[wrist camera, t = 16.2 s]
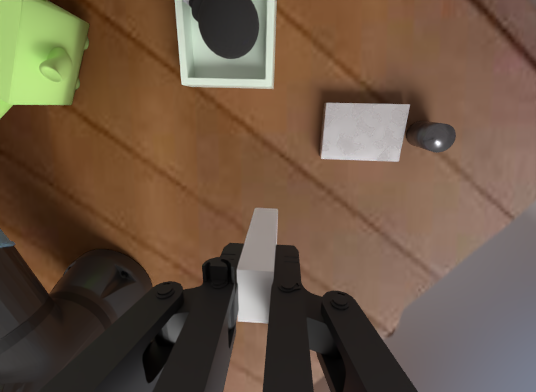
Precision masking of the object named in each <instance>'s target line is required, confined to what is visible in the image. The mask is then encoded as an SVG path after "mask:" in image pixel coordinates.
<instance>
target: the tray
mask: <svg viewBox="0 0 536 392" xmlns="http://www.w3.org/2000/svg"><path fill="white" fill-rule="evenodd" d="M251 1H252V2H253V4H254V6H255V8H256V10H257V13H258V18H259V33H258V37H257V40H256V43H255V45H254V46H253V48H252V49H251V50H250V51H249V52H248V53H247V54H246V55H244V56H242V57H240V58H236V59H226V58H222V57H220V56H218V55H216V54H215V53H214V52H212V51H211V50H210V49H209V48H208V47H207V45H206V44H205V42H204V41H203V39H202V36H201V34H200V30H199V26H198V22H197V21H196V20H195V19H194V18H193V16H192V8H191V7H190V6H189V5H188V4H186V3H185V2H184V1H183V0H175V10H176V22H177V34H178V46H179V58H180V70H181V82H182V85H185V86H191V87H221V88H259V89H274V65H275V35H276V5H277V0H251Z"/></svg>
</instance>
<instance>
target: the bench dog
mask: <svg viewBox="0 0 536 392" xmlns="http://www.w3.org/2000/svg"><path fill="white" fill-rule="evenodd" d="M455 137H456V133H455V130H454V128H453V127H452V126H450V125H448V124H443V123H434V122H426V121H418V122H415V123H414V124H412V125H411V126H410V127H409V129H408V130H407V134H406V138H407V141H408V142H409V143H410V144H411V145H414V146H417V147H420V148H423V149H426V150H429V151H432V152H443V151H445V150H447V149H448V148H450V147H451V145H452V144H453V143H454V141H455Z"/></svg>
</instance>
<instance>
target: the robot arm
mask: <svg viewBox="0 0 536 392" xmlns="http://www.w3.org/2000/svg"><path fill="white" fill-rule="evenodd" d="M277 223H278V209H270V208H255V210H254V213H253V217H252V220H251V223H250V227H249V230H248V233H247V237H246V240H245V243H244V244H240V243H229V244H228V245H227V246H226V247H224V249H223V251H222V253H221V256H220V257H215V258H212V259H209V260H207V261H206V262H205V263H204V264H203V265H202V271H203V284H202V285H201V286H199V287H195V288H191V289H185V290H183V287H182V286H181V284H179V283H177V282H172V281H169V282H163V283H160V284H158V285H156V286H155V287H153V288H152V284H151V281H150V279H149V277H148V275H147V273H146V272H145V271H144V269H143V268H142V267H141V266H140V265H139V264H138V263H137V262H135V261H134V260H133V259H131V258H130V257H128V256H126V255H124V254H122V253H119V252H116V251H112V250H106V249H98V250H92V251H89V252H87V253H85V254H83V255H82V256H80V257H79V258H78V259H76V260H75V261H73V262H72V263H71V264H70V265H69V266H68V268H67V269H66V271H65V273H64V275H63V277H62V278H61V279H60V280H59V281H58V282H57V284H56V285H55V286H54V288H53V289H52V291H51V292H50V293H49V294H48V293H47V291H46V290H45V288H44V287H43V286H42V284H41V283H40V281H39V280H38V279H37V277H36V276H35V274H34V273H33V272H32V270H31V269H30V268H29V266H28V265H27V263H26V262H25V261H24V259H23V258H22V256H21V255H20V254H19V252H18V251H17V249H16V248H15V247H14V245H15V243H14V242H13V241H10V240H9V239H8V237H7V236H6V235H5V234H4V233H3V231H2V230H1V229H0V392H223V390H224V385H225V381H226V376H227V371H228V367H229V362H230V357H231V353H232V348H233V344H234V339H235V334H236V320H237V315H238V321H241V322H255V323H268V334H267V346H266V358H265V370H264V383H263V392H314V391H313V380H312V370H311V360H310V350H313V351H316V353H317V357H318V360H319V362H320V365H321V368H322V370H323V373H324V375H325V378H326V381H327V383H328V386H329V388H330V391H331V392H418V391H417V390H416V388H415V387H414V385H413V384H412V383H411V381H410V379H409V378H408V377H407V375H406V374H405V372H404V371H403V370H402V368H401V366H400V365H399V364H398V362H397V361H396V359H395V358H394V356H393V355H392V353H391V352H390V350H389V349H388V347H387V346H386V344H385V343H384V342H383V340H382V339H381V337H380V336H379V334H378V333H377V331H376V330H375V328H374V327H373V325H372V324H371V322H370V321H369V320H368V318H367V317H366V315H365V314H364V312H363V311H362V309H361V308H360V306H359V305H358V303H357V302H356V301H355V300H354V299H353V297H352V296H350V295H348V294H347V293H344V292H341V291H330V292H327V293H325V294H324V295H323V297H321V296H318V295H315V294H312V293H310V292H309V291H307V290H306V289H305V288H304V287H303V285H302V283H301V274H300V263H299V252H298V250H297V249H296V247H295V246H291V245H277Z"/></svg>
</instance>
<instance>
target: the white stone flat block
mask: <svg viewBox="0 0 536 392" xmlns="http://www.w3.org/2000/svg"><path fill="white" fill-rule="evenodd" d="M409 108H410V104H365V103H324V111H323V122H322V133H321V144H320V155H319V156H320V158H321V159H342V160H370V161H398V162H399V157H400V152H401V147H402V142H403V137H404V132H405V127H406V123H407V118H408V113H409Z"/></svg>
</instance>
